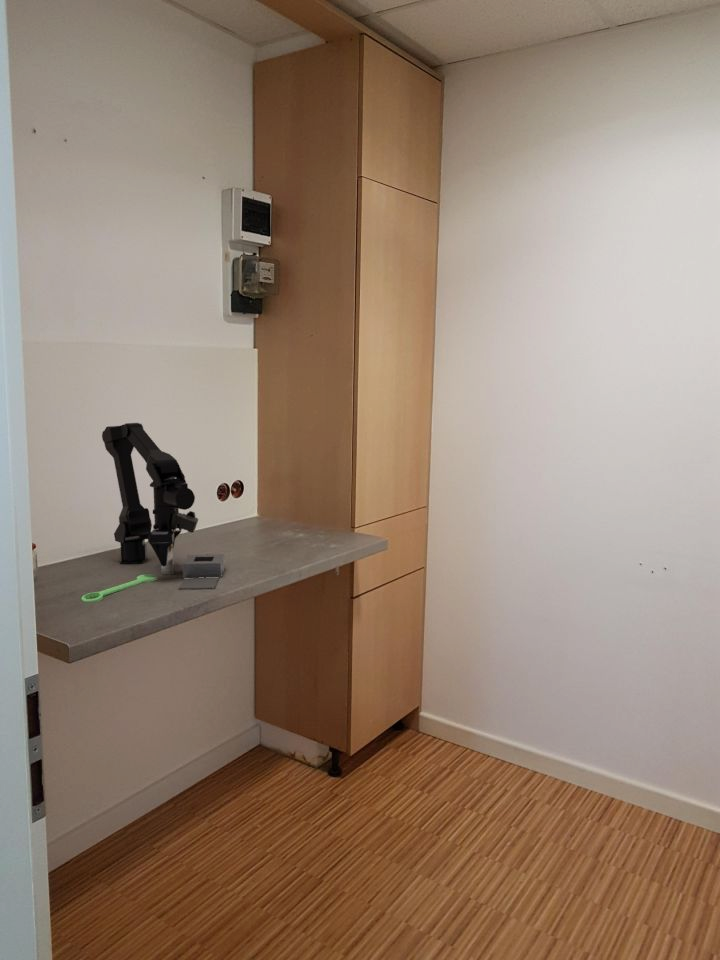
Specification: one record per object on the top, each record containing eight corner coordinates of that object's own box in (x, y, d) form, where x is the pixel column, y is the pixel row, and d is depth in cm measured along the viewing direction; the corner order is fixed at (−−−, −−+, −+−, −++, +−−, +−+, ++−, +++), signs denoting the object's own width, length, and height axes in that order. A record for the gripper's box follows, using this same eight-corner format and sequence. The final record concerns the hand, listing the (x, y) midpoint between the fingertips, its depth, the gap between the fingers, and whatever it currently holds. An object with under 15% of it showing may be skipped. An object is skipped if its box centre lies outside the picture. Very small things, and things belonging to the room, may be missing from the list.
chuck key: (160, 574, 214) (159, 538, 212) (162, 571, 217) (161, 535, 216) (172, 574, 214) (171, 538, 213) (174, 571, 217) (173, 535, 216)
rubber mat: (178, 589, 200) (178, 588, 200) (183, 580, 209) (183, 578, 208) (214, 589, 200) (214, 587, 200) (218, 579, 209) (218, 578, 209)
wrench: (161, 582, 211) (145, 579, 213) (161, 575, 211) (145, 572, 213) (93, 605, 188) (76, 602, 190) (93, 597, 188) (76, 594, 190)
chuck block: (182, 578, 210) (182, 563, 209) (188, 569, 220) (187, 554, 219) (220, 578, 211) (220, 563, 210) (224, 568, 221) (224, 554, 220)
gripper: (190, 510, 204) (192, 570, 206) (199, 498, 223) (201, 553, 225) (146, 511, 204) (148, 570, 206) (159, 499, 222) (161, 553, 224)
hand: (166, 561), depth 215 cm, fingers open, 9 cm apart
